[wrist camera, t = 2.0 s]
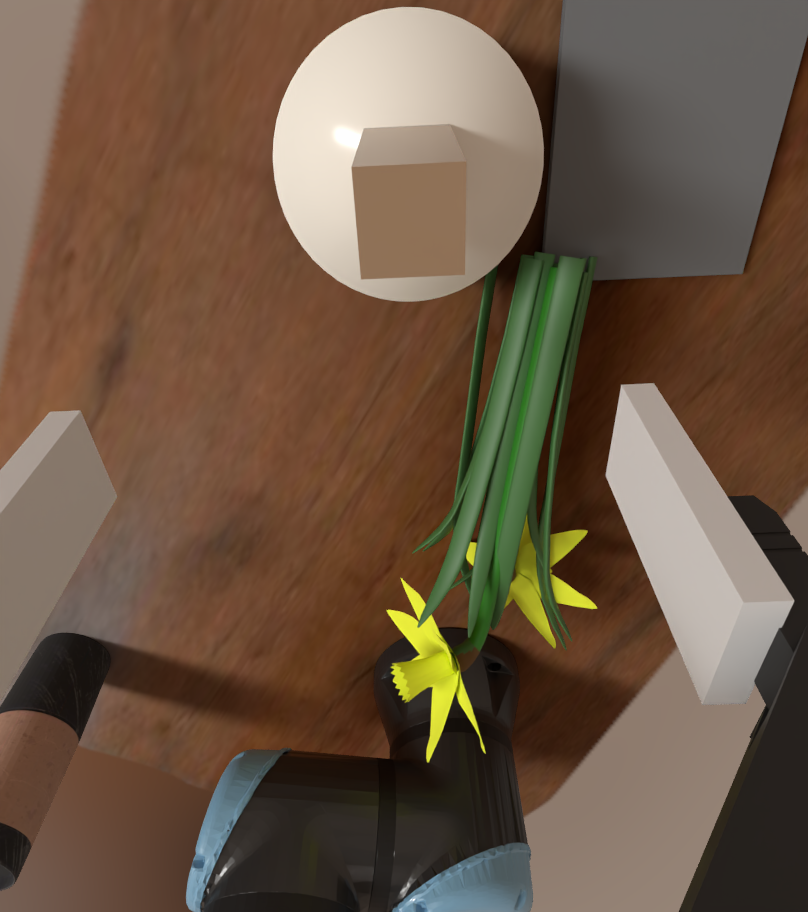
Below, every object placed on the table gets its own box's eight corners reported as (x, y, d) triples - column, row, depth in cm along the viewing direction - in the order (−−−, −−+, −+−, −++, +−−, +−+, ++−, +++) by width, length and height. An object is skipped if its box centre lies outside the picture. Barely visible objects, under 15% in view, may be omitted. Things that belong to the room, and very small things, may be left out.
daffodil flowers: (703, 271, 41) (578, 687, 54) (499, 239, 48) (430, 619, 60) (668, 275, 27) (510, 835, 40) (384, 229, 34) (325, 727, 46)
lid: (529, 288, 35) (570, 374, 26) (296, 298, 35) (264, 387, 27) (551, -1, 27) (617, -8, 19) (254, 15, 28) (192, 15, 19)
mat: (737, 269, 41) (742, 273, 41) (539, 278, 42) (541, 282, 41) (812, -14, 33) (821, -15, 32) (562, -1, 33) (566, -1, 32)
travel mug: (84, 623, 61) (-30, 844, 45) (128, 669, 66) (38, 886, 49) (19, 640, 63) (-115, 859, 46) (66, 683, 67) (-42, 899, 51)
